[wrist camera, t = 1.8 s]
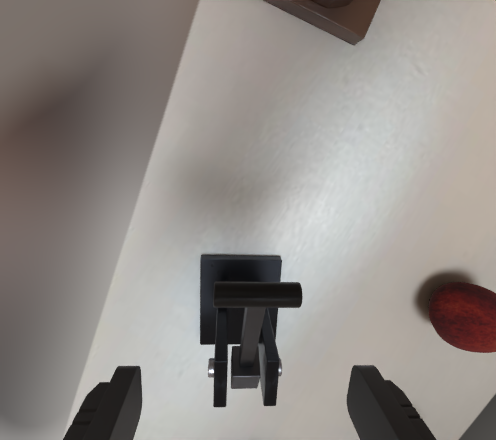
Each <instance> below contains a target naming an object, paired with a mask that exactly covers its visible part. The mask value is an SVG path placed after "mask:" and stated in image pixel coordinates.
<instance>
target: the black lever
mask: <svg viewBox="0 0 496 440" xmlns="http://www.w3.org/2000/svg"><path fill="white" fill-rule="evenodd" d="M301 304H302V288H301V285H300V283H298V282H215V283H214V300H213V305H214V307H215V308H245V312H244V320H243V328H242V336H241V344H240V346H232V356H231V388H232V389H242V388H257V387H258V383H259V379H260V360H259V347H258V341H259V337H260V332H261V328H262V323H263V318H264V314H265V309H266V308H299V307H301Z"/></svg>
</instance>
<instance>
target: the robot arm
mask: <svg viewBox="0 0 496 440" xmlns="http://www.w3.org/2000/svg"><path fill="white" fill-rule="evenodd" d="M347 407H348V412H349V415H350V418H351V420H352V422H353V424H354V427H355V429H356V431H357V433H358V436H359V438H360V440H436V438H435V437H434V436H433V434H432V433H431V431H430V430H429V428H428V427H427V425H426V424H425V423H424V421H423V420H422V419H421V418H420V415H419V414H418V412H417V411H416V409H415V408H414V407H412V404H411V402H410V401H409V399H408V398H407V396H406V395H405V394H404V392H403V391H402V390H401V389H400V388H398V387H397V386H396V385H395V384H394V383H393V382H391V381H390V380H384V379H383V377H382V376H381V374H380V372H379V371H378V369H377V368H376V367H375V366H373V365H355V366H353V368H352V371H351V377H350V382H349V388H348V394H347ZM141 408H142V385H141V369H140V366H118V367H117V368H116V370H115V372H114V374H113V377H112V379H111V381H110V382H100V383H99V384H98V385H97V386H96V387H95V388H94V389H93V390H92V391H91V392H90V393H89V394H87V396H86V398H85V400H84V401H83V403H82V405H81V407H80V409H79V412H78V413H77V414H76V416H75V418H74V420H73V422H72V425H71V426H70V427H69V429H68V431H67V433H66V435H65V437H64V439H63V440H133V438H134V435H135V432H136V429H137V425H138V422H139V419H140V414H141Z"/></svg>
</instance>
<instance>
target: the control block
mask: <svg viewBox="0 0 496 440" xmlns="http://www.w3.org/2000/svg"><path fill="white" fill-rule="evenodd" d="M264 1H266V2H268V3H270V4H272V5H274V6H276V7H278V8H280V9H282V10H284V11H286V12H288V13H290V14H292V15H294V16H296V17H298V18H300V19H302V20H304V21H306V22H308V23H310V24H312V25H314V26H316V27H318V28H320V29H322V30H325V31H327V32H329V33H331V34H333V35H335V36H337V37H339V38H341V39H343V40H345V41H347V42H349V43H351V44H353V45H355V44H357V43H358V42H359V41H361V40H362V39H364V37H365V35H366V33H367V30H368V28H369V26H370V24H371V21H372V19H373V17H374V14H375V12H376V10H377V8H378V5H379V3H380V1H381V0H264Z"/></svg>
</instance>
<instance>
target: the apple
mask: <svg viewBox="0 0 496 440" xmlns="http://www.w3.org/2000/svg"><path fill="white" fill-rule="evenodd" d="M429 301H430V302H429V318H430V321H431V323H432V325H433V327H434V328H435V330H436V332H437V333H438V335H439V336H440V337H441V338H442V339H443V340H444V341H446V342H447V343H449V344H450V345H452V346H454V347H457V348H459V349H462V350H466V351H471V352H481V353H489V352H496V293H494V292H492V291H490V290H488V289H486V288H484V287H481V286H478V285H474V284H470V283H465V282H452V283H447V284H444V285H442V286H440V287H438V288H437V289H436V290H435V291H434V292H433V294H432V296H431V299H429Z"/></svg>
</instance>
